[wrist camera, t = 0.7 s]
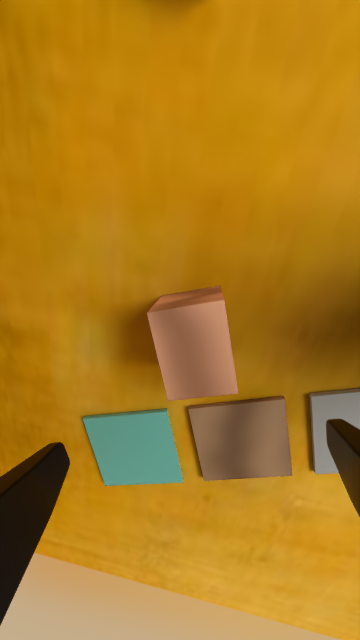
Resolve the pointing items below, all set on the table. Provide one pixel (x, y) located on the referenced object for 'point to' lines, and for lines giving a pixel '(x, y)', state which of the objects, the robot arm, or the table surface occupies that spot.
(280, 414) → the walnut coaster
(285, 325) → the table surface
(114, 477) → the teal tile
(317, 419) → the slate coaster
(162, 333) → the terracotta brick
